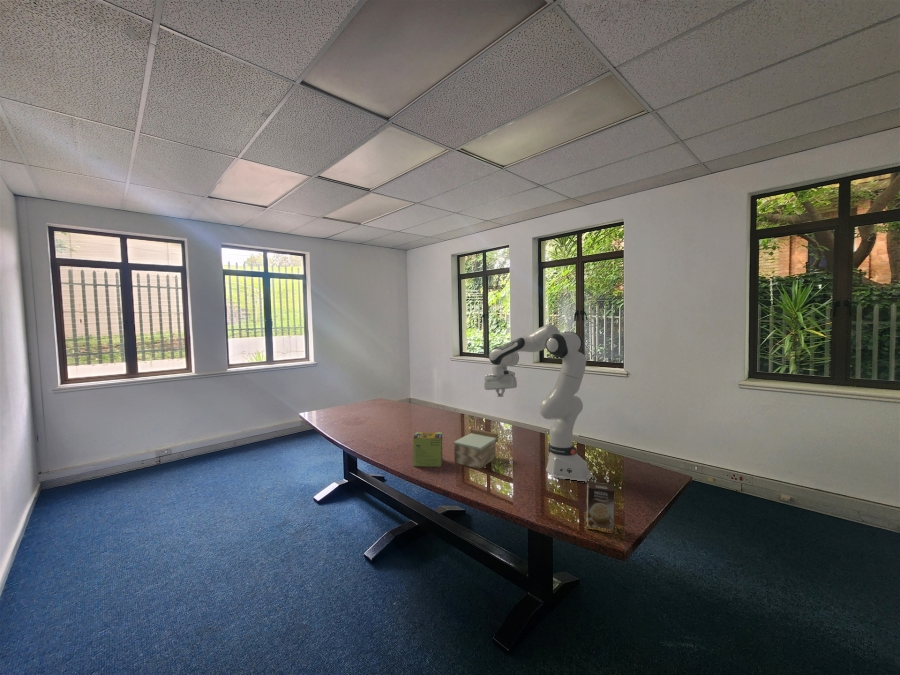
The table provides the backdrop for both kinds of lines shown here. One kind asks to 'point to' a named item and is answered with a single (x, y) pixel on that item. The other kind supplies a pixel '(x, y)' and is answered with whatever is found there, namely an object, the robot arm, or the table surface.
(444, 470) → the table surface
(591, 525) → the coffee box
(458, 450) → the crate
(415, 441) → the protein box
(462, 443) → the lid
